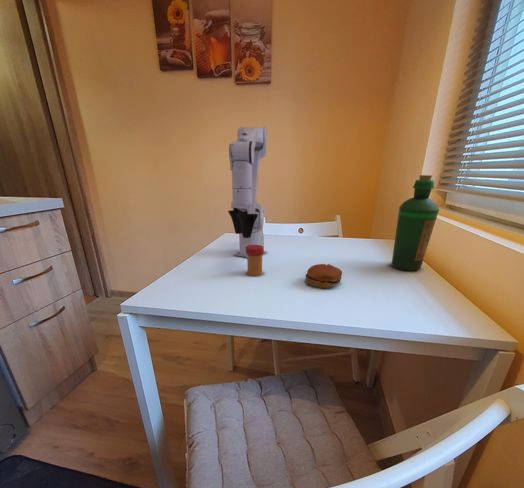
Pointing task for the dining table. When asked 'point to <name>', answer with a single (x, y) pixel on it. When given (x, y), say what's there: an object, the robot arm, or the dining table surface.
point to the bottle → (415, 226)
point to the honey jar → (254, 265)
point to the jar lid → (254, 250)
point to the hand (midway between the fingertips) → (242, 235)
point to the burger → (323, 276)
